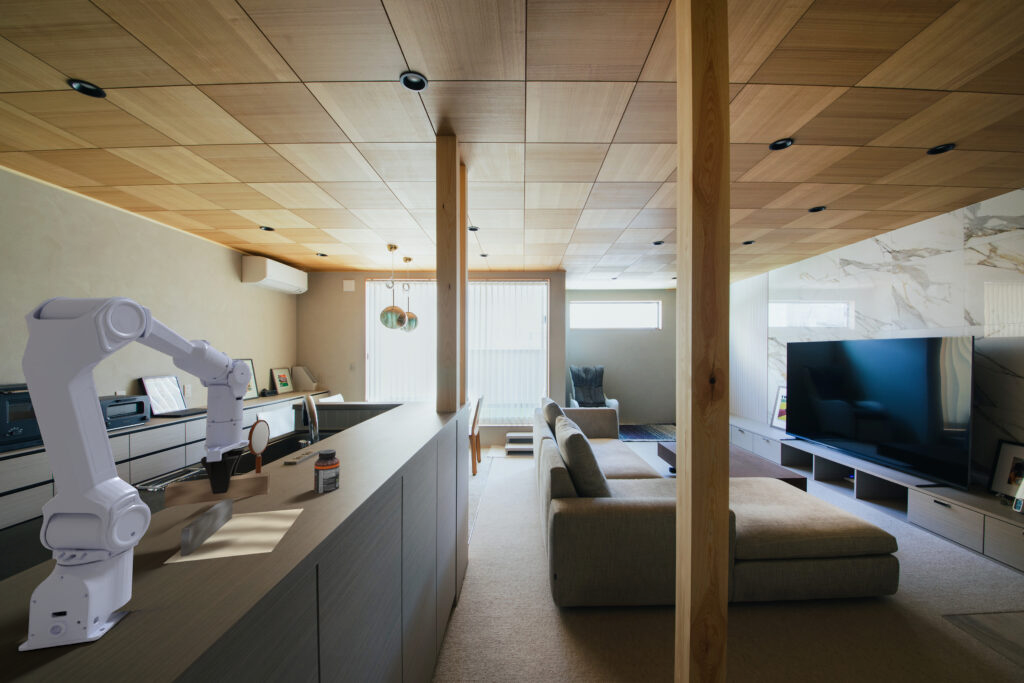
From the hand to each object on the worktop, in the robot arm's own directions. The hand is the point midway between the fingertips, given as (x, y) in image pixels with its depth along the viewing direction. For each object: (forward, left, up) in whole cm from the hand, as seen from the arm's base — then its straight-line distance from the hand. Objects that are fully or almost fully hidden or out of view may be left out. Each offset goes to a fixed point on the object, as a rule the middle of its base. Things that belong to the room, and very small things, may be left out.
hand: (222, 490), depth 75 cm
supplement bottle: (+23, -14, -10) cm, 29 cm away
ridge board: (0, -4, -10) cm, 11 cm away
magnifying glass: (+23, +2, -10) cm, 25 cm away
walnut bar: (0, 0, -1) cm, 1 cm away
